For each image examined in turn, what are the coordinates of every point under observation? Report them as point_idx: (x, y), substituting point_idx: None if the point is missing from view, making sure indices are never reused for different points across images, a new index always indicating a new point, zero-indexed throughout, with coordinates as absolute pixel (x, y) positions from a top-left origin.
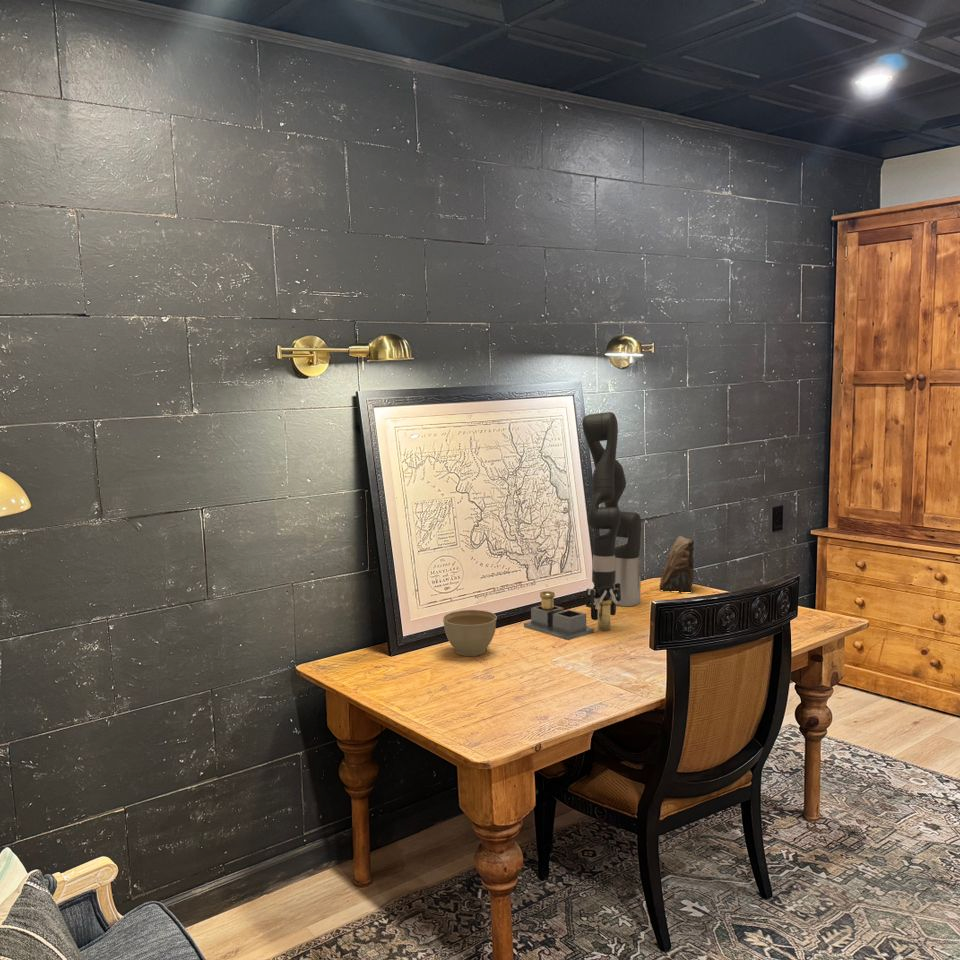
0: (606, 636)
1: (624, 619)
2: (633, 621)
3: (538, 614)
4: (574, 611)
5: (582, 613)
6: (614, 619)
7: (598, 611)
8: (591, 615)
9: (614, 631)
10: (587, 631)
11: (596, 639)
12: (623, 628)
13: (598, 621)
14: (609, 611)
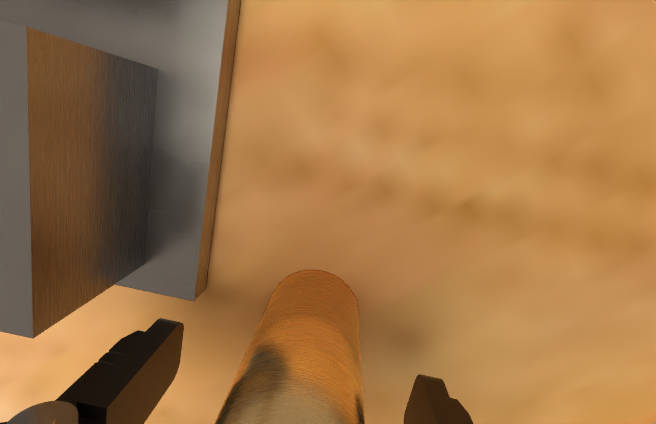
0: (186, 388)
1: (636, 318)
2: (609, 388)
3: None
4: (5, 158)
5: (17, 289)
6: (601, 257)
7: (232, 388)
8: (110, 356)
9: None
10: (129, 282)
11: None
12: (406, 401)
13: (262, 320)
14: None
